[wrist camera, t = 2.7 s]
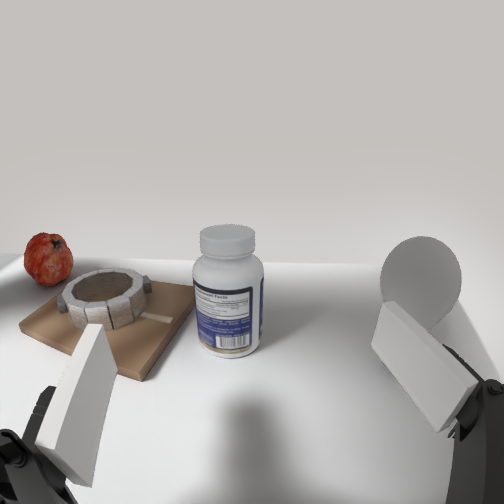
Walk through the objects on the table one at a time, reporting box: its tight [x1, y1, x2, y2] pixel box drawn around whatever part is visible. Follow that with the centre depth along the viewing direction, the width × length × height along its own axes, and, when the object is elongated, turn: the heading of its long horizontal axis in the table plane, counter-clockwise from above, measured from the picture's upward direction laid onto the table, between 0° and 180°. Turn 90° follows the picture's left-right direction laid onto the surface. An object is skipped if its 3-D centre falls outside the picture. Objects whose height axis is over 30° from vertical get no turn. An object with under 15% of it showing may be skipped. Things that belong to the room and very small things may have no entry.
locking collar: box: [57, 268, 152, 331], centre depth 25 cm, size 8×8×2 cm
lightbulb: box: [380, 236, 461, 367], centre depth 18 cm, size 6×6×11 cm
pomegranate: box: [24, 232, 73, 286], centre depth 31 cm, size 7×7×10 cm
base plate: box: [19, 280, 195, 382], centre depth 26 cm, size 16×14×1 cm
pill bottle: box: [193, 224, 264, 358], centre depth 22 cm, size 5×5×10 cm
